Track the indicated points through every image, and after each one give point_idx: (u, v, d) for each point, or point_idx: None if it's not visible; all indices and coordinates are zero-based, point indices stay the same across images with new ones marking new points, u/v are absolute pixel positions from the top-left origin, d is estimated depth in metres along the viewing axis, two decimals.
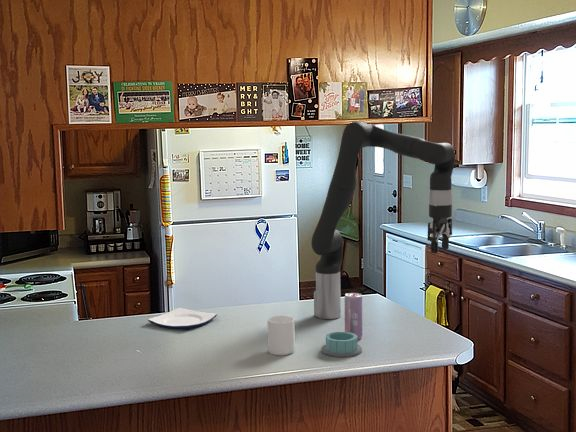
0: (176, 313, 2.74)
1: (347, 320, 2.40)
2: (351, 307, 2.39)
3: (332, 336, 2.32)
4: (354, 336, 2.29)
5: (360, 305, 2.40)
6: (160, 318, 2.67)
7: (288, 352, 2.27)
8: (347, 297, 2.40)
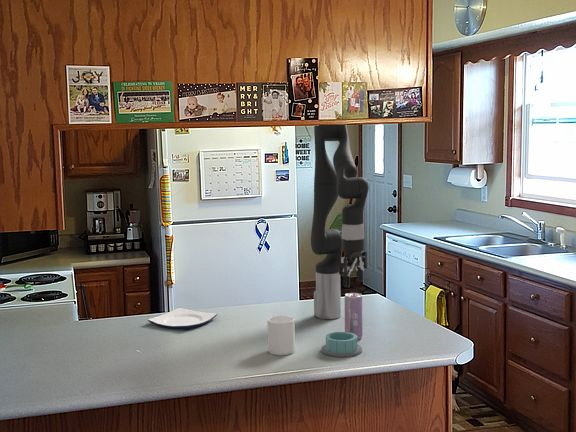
0: (176, 313, 2.74)
1: (347, 320, 2.40)
2: (351, 307, 2.39)
3: (332, 336, 2.32)
4: (354, 336, 2.29)
5: (360, 305, 2.40)
6: (160, 318, 2.67)
7: (288, 352, 2.27)
8: (347, 297, 2.40)
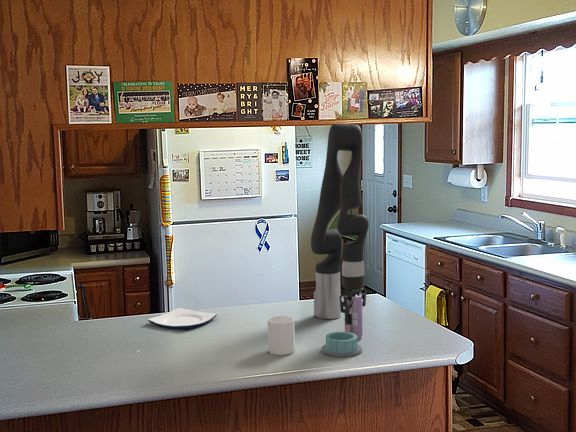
0: (176, 313, 2.74)
1: None
2: None
3: (332, 336, 2.32)
4: (354, 336, 2.29)
5: (360, 305, 2.40)
6: (160, 318, 2.67)
7: (288, 352, 2.27)
8: None
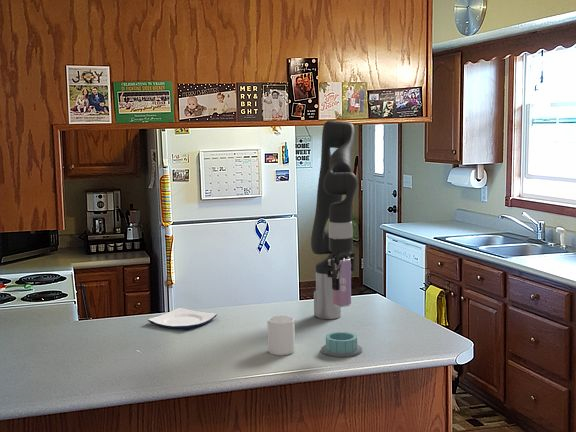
0: (176, 313, 2.74)
1: None
2: None
3: (332, 336, 2.32)
4: (354, 336, 2.29)
5: (348, 269, 2.24)
6: (160, 318, 2.67)
7: (288, 352, 2.27)
8: None
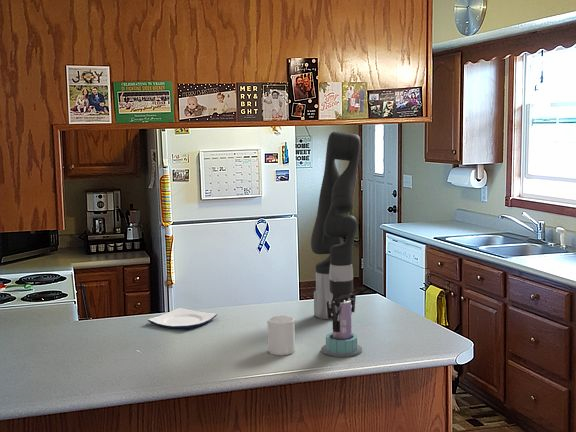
0: (176, 313, 2.74)
1: None
2: None
3: (332, 336, 2.32)
4: (354, 336, 2.29)
5: (349, 311, 2.26)
6: (160, 318, 2.67)
7: (288, 352, 2.27)
8: None
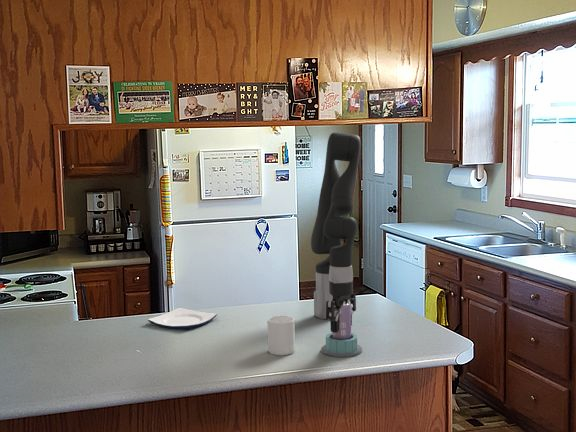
0: (176, 313, 2.74)
1: None
2: (339, 316, 2.26)
3: (332, 336, 2.32)
4: (354, 336, 2.29)
5: (348, 314, 2.26)
6: (160, 318, 2.67)
7: (288, 352, 2.27)
8: None
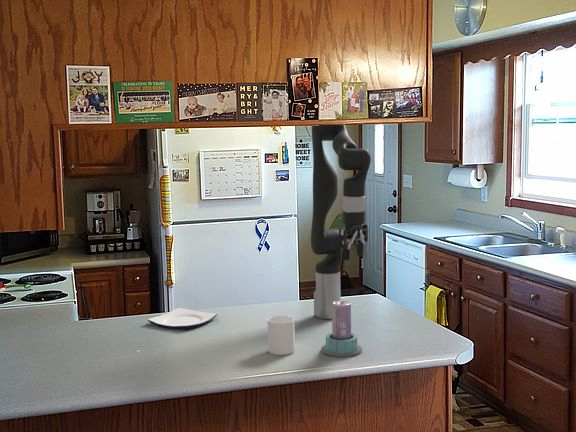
0: (176, 313, 2.74)
1: (335, 330, 2.27)
2: (339, 316, 2.26)
3: (332, 336, 2.32)
4: (354, 336, 2.29)
5: (349, 314, 2.26)
6: (160, 318, 2.67)
7: (288, 352, 2.27)
8: (335, 305, 2.26)
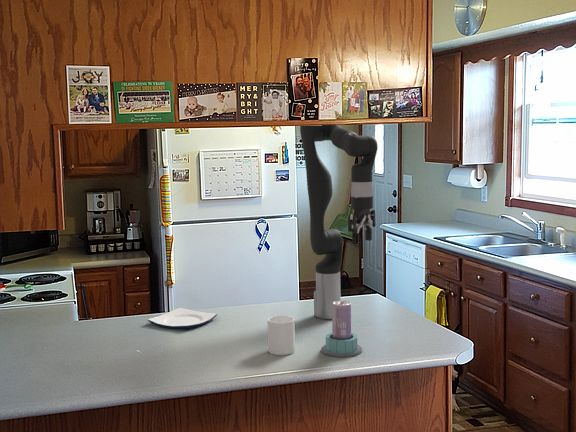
0: (176, 313, 2.74)
1: (335, 330, 2.27)
2: (339, 316, 2.26)
3: (332, 336, 2.32)
4: (354, 336, 2.29)
5: (349, 314, 2.26)
6: (160, 318, 2.67)
7: (288, 352, 2.27)
8: (335, 305, 2.26)
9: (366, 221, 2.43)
